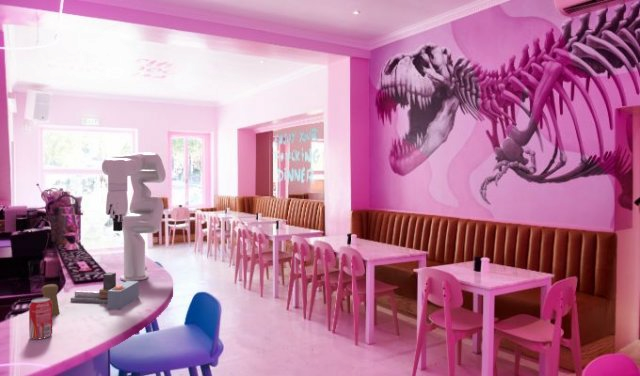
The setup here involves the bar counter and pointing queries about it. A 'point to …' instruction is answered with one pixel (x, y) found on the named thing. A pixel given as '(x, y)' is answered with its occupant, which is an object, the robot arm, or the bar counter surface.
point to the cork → (51, 297)
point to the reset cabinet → (123, 295)
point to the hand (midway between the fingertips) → (117, 230)
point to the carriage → (107, 284)
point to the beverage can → (40, 318)
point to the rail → (88, 297)
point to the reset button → (118, 287)
